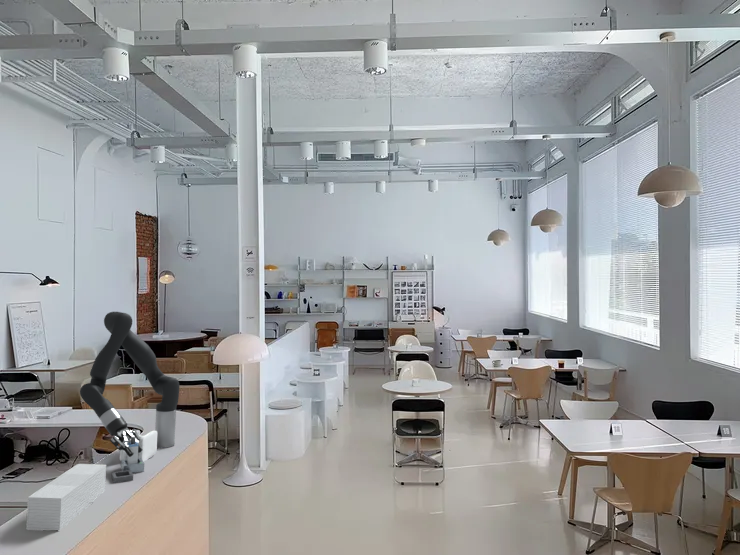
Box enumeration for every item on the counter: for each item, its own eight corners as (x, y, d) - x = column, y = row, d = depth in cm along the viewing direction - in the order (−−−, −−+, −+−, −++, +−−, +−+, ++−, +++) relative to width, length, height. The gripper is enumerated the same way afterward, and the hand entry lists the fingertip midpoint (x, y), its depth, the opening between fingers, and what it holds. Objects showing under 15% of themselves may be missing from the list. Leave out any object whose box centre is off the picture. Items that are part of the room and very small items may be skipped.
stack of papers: (76, 492, 210) (77, 463, 210) (105, 493, 210) (106, 464, 210) (26, 530, 178) (27, 497, 178) (59, 531, 178) (61, 498, 178)
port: (120, 469, 234) (121, 459, 234) (140, 466, 238) (141, 456, 238) (123, 475, 227) (123, 465, 227) (144, 472, 232) (144, 462, 232)
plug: (126, 461, 233) (128, 436, 233) (136, 460, 235) (137, 435, 235) (128, 464, 230) (129, 439, 230) (137, 463, 232) (138, 438, 232)
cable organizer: (141, 465, 240) (142, 438, 240) (117, 463, 241) (118, 437, 241) (157, 454, 255) (158, 429, 255) (134, 453, 256) (136, 428, 256)
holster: (111, 478, 224) (111, 472, 224) (130, 476, 227) (130, 469, 227) (113, 484, 218) (114, 478, 218) (132, 481, 221) (133, 475, 221)
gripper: (107, 420, 228) (131, 452, 225) (130, 412, 242) (153, 443, 239) (95, 431, 229) (119, 464, 226) (119, 423, 243) (141, 454, 240)
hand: (136, 453), depth 232 cm, fingers closed on plug, 5 cm apart
